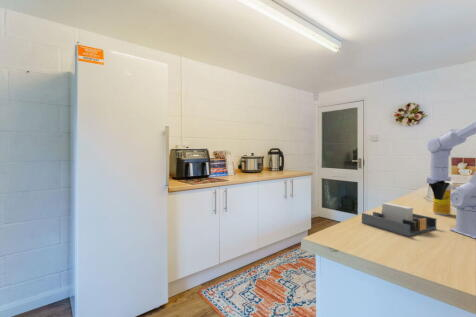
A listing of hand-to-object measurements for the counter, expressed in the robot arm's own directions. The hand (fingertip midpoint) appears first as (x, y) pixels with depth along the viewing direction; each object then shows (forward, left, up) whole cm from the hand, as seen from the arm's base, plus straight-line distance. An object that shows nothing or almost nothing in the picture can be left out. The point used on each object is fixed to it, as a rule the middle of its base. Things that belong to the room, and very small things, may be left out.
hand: (438, 199), depth 99 cm
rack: (-3, +21, -9) cm, 23 cm away
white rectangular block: (-3, +21, -8) cm, 23 cm away
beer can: (+10, -12, -10) cm, 18 cm away
